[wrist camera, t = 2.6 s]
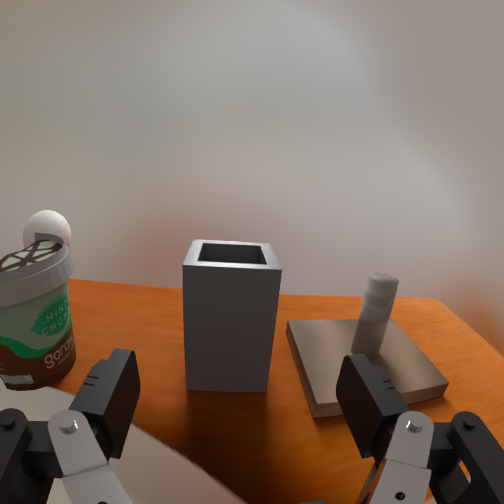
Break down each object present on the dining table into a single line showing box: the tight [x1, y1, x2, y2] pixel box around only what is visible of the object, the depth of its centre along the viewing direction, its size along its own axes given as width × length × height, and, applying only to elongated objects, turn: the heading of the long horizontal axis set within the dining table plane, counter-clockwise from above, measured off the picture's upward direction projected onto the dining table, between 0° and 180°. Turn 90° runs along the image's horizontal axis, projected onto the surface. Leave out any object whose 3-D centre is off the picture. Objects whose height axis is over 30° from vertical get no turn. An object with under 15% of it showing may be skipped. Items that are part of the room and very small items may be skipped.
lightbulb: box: [23, 210, 71, 248], centre depth 29 cm, size 6×6×11 cm
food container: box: [0, 232, 76, 391], centre depth 19 cm, size 12×6×10 cm, turn 9°
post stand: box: [286, 273, 449, 418], centre depth 24 cm, size 12×12×8 cm
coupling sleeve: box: [183, 240, 282, 392], centre depth 23 cm, size 6×6×10 cm
